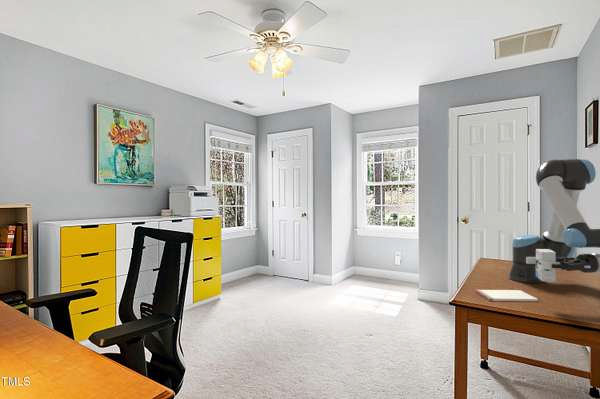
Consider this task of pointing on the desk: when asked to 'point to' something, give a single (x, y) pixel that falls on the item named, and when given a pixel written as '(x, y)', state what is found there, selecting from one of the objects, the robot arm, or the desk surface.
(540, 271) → the ink box
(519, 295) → the notepad
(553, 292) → the desk surface
